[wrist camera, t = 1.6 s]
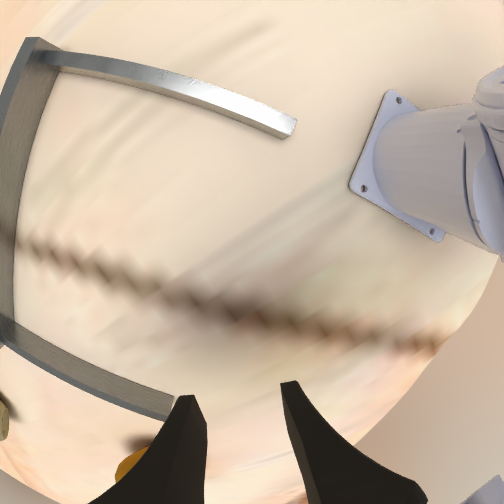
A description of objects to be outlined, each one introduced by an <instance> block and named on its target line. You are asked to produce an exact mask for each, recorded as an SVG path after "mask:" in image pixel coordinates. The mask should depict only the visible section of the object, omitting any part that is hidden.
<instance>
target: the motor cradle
mask: <svg viewBox="0 0 504 504" xmlns="http://www.w3.org/2000/svg"><path fill="white" fill-rule="evenodd" d="M59 71H60V72H66V73H72V74H78V75H84V76H89V77H94V78H99V79H104V80H108V81H113V82H117V83H121V84H125V85H129V86H133V87H137V88H141V89H145V90H148V91H152V92H155V93H159V94H162V95H165V96H169V97H172V98H175V99H178V100H181V101H184V102H188V103H191V104H193V105H196V106H199V107H202V108H205V109H208V110H211V111H213V112H216V113H219V114H221V115H224V116H227V117H229V118H232V119H234V120H237V121H239V122H242V123H244V124H247V125H249V126H252V127H254V128H256V129H259V130H261V131H264V132H266V133H268V134H270V135H273V136H275V137H277V138H279V139H284V138H286V137H288V136H290V135H291V133H292V131H293V128H294V126H295V124H296V122H297V119H295V118H293V117H291V116H289V115H287V114H284V113H282V112H280V111H278V110H276V109H273V108H271V107H269V106H266V105H264V104H262V103H259V102H257V101H254V100H252V99H250V98H247V97H245V96H242V95H239V94H237V93H234V92H232V91H229V90H226V89H223V88H221V87H218V86H215V85H212V84H209V83H206V82H203V81H200V80H197V79H194V78H190V77H187V76H184V75H181V74H177V73H174V72H170V71H166V70H163V69H159V68H155V67H151V66H147V65H143V64H138V63H134V62H129V61H124V60H119V59H114V58H108V57H103V56H96V55H90V54H82V53H74V52H65V51H63V50H61V49H60V48H58V47H56V46H54V45H53V44H51V43H49V42H47V41H45V40H44V39H42V38H40V37H26V38H25V40H24V42H23V44H22V46H21V48H20V50H19V52H18V54H17V56H16V58H15V60H14V63H13V65H12V67H11V69H10V72H9V74H8V77H7V79H6V81H5V84H4V87H3V89H2V92H1V95H0V349H1V348H2V347H3V345H6V346H7V347H9V348H10V349H12V350H13V351H14V352H16V353H17V354H19V355H21V356H22V357H24V358H25V359H27V360H28V361H30V362H32V363H33V364H35V365H37V366H38V367H40V368H42V369H43V370H45V371H47V372H49V373H50V374H52V375H54V376H56V377H58V378H60V379H61V380H63V381H65V382H67V383H69V384H71V385H73V386H75V387H77V388H79V389H81V390H83V391H85V392H88V393H90V394H92V395H94V396H96V397H99V398H101V399H103V400H106V401H108V402H110V403H113V404H115V405H118V406H120V407H123V408H125V409H128V410H131V411H133V412H136V413H139V414H142V415H145V416H148V417H151V418H154V419H157V420H160V421H163V422H165V421H166V419H167V418H168V416H169V414H170V412H171V407H172V402H173V396H171V395H168V394H165V393H162V392H159V391H156V390H153V389H150V388H148V387H145V386H142V385H139V384H137V383H134V382H132V381H129V380H126V379H124V378H122V377H119V376H117V375H114V374H112V373H110V372H107V371H105V370H103V369H100V368H98V367H96V366H94V365H92V364H89V363H87V362H85V361H83V360H81V359H79V358H77V357H75V356H73V355H71V354H69V353H67V352H65V351H63V350H61V349H60V348H58V347H56V346H54V345H52V344H50V343H49V342H47V341H45V340H43V339H42V338H40V337H38V336H36V335H35V334H33V333H31V332H30V331H28V330H27V329H25V328H23V327H22V326H20V325H19V324H17V323H15V322H14V310H13V257H14V242H15V231H16V222H17V215H18V208H19V201H20V195H21V190H22V184H23V180H24V175H25V170H26V166H27V162H28V158H29V154H30V150H31V146H32V143H33V139H34V136H35V133H36V130H37V127H38V123H39V120H40V118H41V115H42V112H43V109H44V106H45V104H46V101H47V98H48V96H49V93H50V91H51V89H52V86H53V84H54V81H55V79H56V77H57V75H58V73H59Z"/></svg>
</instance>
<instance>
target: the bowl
mask: <svg viewBox="0 0 504 504" xmlns="http://www.w3.org/2000/svg"><path fill="white" fill-rule="evenodd" d="M8 430H9V412H8V409H7V407H6V406H5V405H4V404H3V403H2V401H1V400H0V441H2V440H5V439H6V438H7V435H8Z"/></svg>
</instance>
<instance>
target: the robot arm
mask: <svg viewBox="0 0 504 504" xmlns="http://www.w3.org/2000/svg"><path fill="white" fill-rule="evenodd" d="M396 98H397V99H398V100H399V104H398V103H397V101H396ZM362 185H364V186H365V190H364V192H362V191H361V186H362ZM349 188H350V189H351V191H353V192H354V193H356V194H358V195H360V196H362V197H363V198H365V199H367V200H369V201H370V202H372V203H374V204H376V205H377V206H379V207H381V208H382V209H384V210H386V211H388V212H389V213H391V214H393V215H394V216H396V217H397V218H399V219H401V220H402V221H404V222H406V223H407V224H409V225H410V226H412V227H413V228H415V229H417V230H418V231H420V232H421V233H423V234H424V235H426V236H427V237H429V238H430V239H432V240H433V241H435V242H437V243H439V242H441V241H442V239H443V237H444V235H445V233H448V234H450V235H453V236H455V237H457V238H459V239H462V240H464V241H466V242H469V243H471V244H473V245H475V246H477V247H480V248H482V249H484V250H486V251H488V252H490V253H493V254H497V255H500V257H501V261H502V262H504V66H502V67H500V68H498V69H496V70H494V71H492V72H491V73H489V74H488V75H486V76H485V77H484V78H482V79H481V80H480V82H479V83H478V85H477V89H476V93H475V94H474V96H473V99H472V103H468V104H460V105H453V106H446V107H440V108H434V109H428V110H423V111H421V110H419V109H418V108H417V107H416V106H414V105H413V104H412V103H411V102H409V101H408V100H407V99H405V98H404V97H403V96H401V95H400V94H398V93H397V92H396V91H394V90H389V91H387V92H386V93H385V96H384V98H383V101H382V104H381V106H380V109H379V112H378V114H377V117H376V119H375V122H374V124H373V127H372V129H371V132H370V134H369V137H368V139H367V142H366V144H365V147H364V149H363V152H362V154H361V156H360V159H359V161H358V163H357V166H356V168H355V170H354V173H353V175H352V177H351V180H350V182H349ZM431 229H432V231H431V233H430V230H431ZM280 386H281V393H282V401H283V408H284V415H285V420H286V425H287V430H288V434H289V438H290V441H291V444H292V447H293V450H294V453H295V456H296V459H297V462H298V465H299V468H300V471H301V474H302V477H303V480H304V484H305V489H306V493H307V498H308V503H309V504H427V502H428V499H427V497H426V495H425V493H424V492H423V491H422V489H421V488H420V486H419V485H418V484H417V483H416V482H415V481H413V480H410V479H408V478H406V477H403V476H401V475H399V474H397V473H394V472H392V471H391V470H389V469H387V468H385V467H383V466H381V465H380V464H378V463H377V462H375V461H373V460H372V459H370V458H369V457H367V456H366V455H364V454H363V453H361V452H360V451H359V450H357V449H356V448H354V446H352V445H351V444H350V443H349V442H347V441H346V440H345V439H344V438H343V437H342V436H341V435H340V434H339V433H337V432H336V431H335V430H334V429H333V428H332V427H331V426H330V425H329V423H328V422H327V421H326V420H325V419H324V418H323V417H322V416H321V414H320V413H319V412H318V411H317V410H316V408H315V407H314V406H313V405H312V403H311V402H310V400H309V399H308V398H307V396H306V395H305V393H304V392H303V390H302V388H301V387H300V385H299V383H298V382H297V381H290V382H285V383H280ZM206 456H207V423H206V421H205V419H204V417H203V414H202V412H201V410H200V408H199V405H198V403H197V401H196V398H195V396H194V395H183V396H179V397H178V399H177V401H176V403H175V405H174V407H173V409H172V410H171V412H170V414H169V416H168V418H167V419H166V421H165V423H164V424H163V426H162V428H161V429H160V431H159V433H158V434H157V436H156V437H155V439H154V440H153V442H152V443H151V445H150V446H149V447H148V449H147V450H146V452H145V453H144V454H143V455H142V457H141V458H140V459H139V460H138V462H137V463H136V464H135V465H134V466H133V467H132V468H131V469H130V470H129V471H128V472H127V473H126V474H125V475H124V476H123V477H122V478H121V479H120V480H119V481H118V482H117V483H116V484H115V485H113V486H112V487H111V488H110V489H108V490H107V491H106V492H105V493H103V494H102V495H101V496H99V497H98V498H96V499H95V500H93V501H91V502H90V503H88V504H204V480H205V468H206ZM460 504H504V482H503V481H502V479H501V477H500V476H499V475H496V476H495V477H494V478H492V479H491V480H490V481H489V482H487V483H486V484H485V485H483V486H482V487H481V488H480V489H478V490H477V491H475V492H474V493H473V494H472V495H471V496H469V498H467V500H465V501H464V502H462V503H460Z"/></svg>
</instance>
